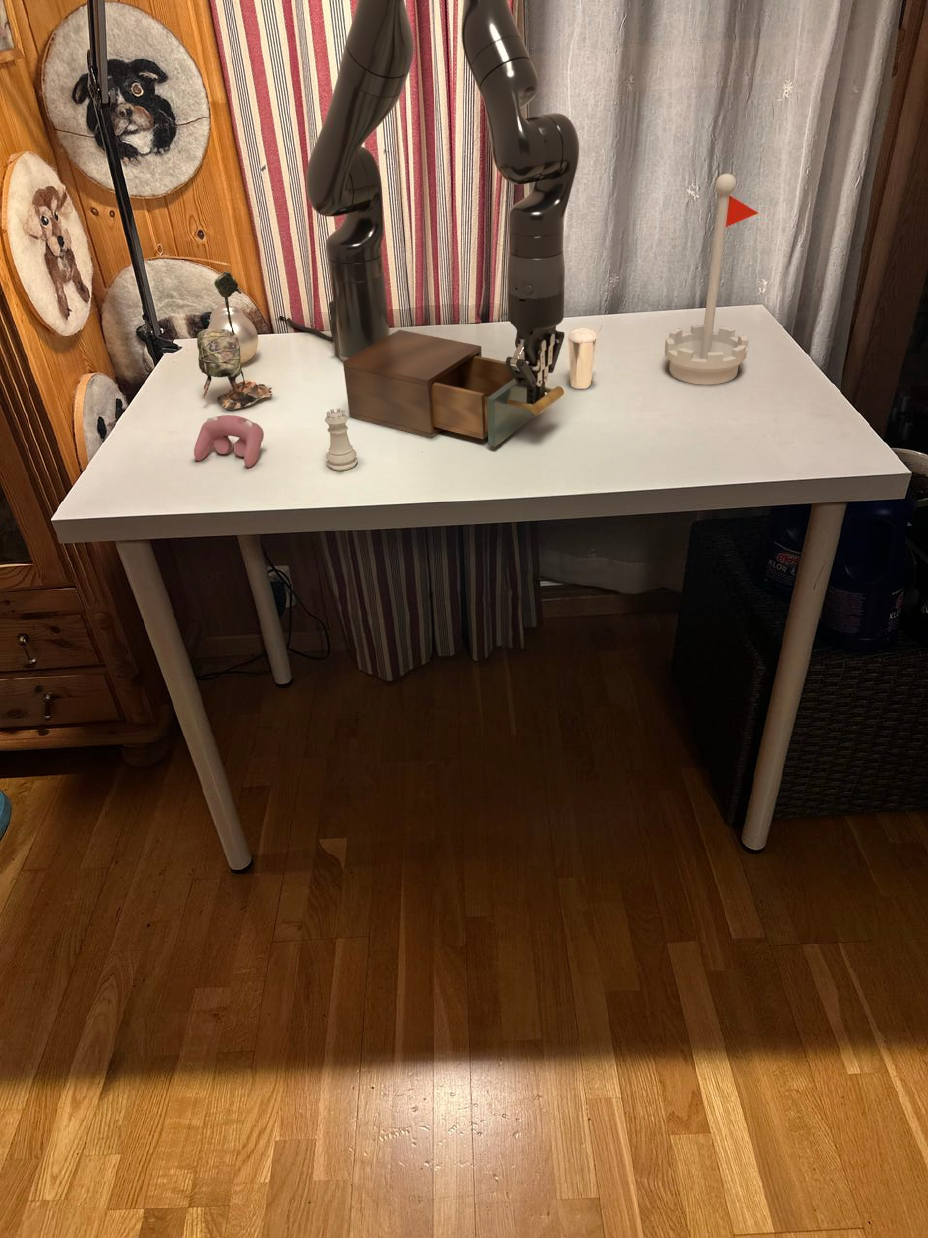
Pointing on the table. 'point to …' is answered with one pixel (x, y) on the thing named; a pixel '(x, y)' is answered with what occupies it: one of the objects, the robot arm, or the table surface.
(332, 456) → the rook chess piece
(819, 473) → the table surface
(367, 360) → the cabinet
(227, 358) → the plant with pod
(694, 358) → the flag stand
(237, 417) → the video game controller
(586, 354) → the milkshake
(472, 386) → the drawer
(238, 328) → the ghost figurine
